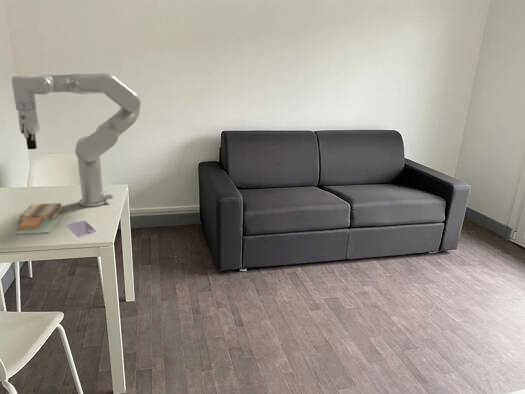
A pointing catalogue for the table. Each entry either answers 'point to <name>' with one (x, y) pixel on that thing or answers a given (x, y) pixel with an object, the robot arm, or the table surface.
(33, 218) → the tile
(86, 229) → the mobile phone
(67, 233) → the table surface
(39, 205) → the plate
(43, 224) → the mat
